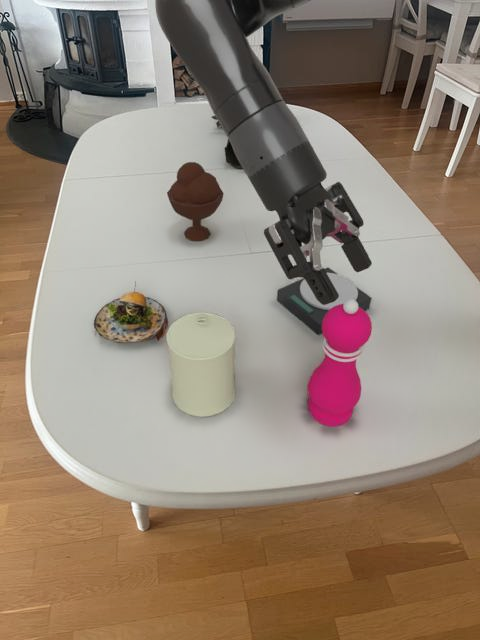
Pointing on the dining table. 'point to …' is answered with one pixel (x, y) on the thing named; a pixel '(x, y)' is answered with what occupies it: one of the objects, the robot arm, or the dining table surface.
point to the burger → (131, 319)
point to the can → (202, 363)
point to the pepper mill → (339, 364)
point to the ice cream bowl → (195, 198)
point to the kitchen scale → (310, 309)
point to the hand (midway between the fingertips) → (348, 284)
